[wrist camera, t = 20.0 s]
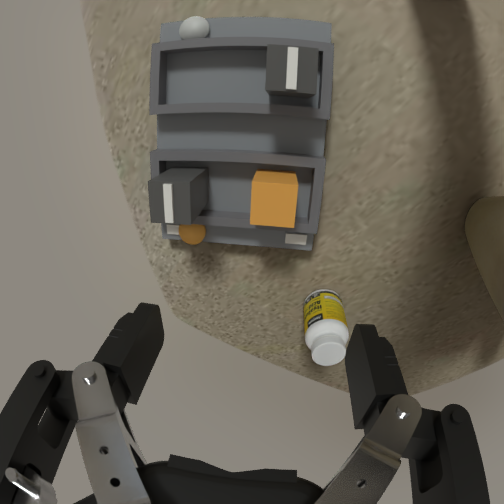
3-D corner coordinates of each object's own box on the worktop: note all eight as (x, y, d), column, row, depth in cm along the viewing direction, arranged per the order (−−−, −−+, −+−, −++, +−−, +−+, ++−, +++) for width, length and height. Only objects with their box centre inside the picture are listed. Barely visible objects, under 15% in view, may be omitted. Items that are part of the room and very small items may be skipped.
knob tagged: (208, 167, 30) (188, 182, 24) (208, 202, 32) (190, 226, 26) (173, 166, 31) (146, 182, 24) (174, 200, 33) (149, 223, 26)
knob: (310, 62, 24) (318, 47, 18) (308, 98, 26) (316, 93, 20) (270, 58, 25) (267, 43, 18) (268, 95, 26) (264, 89, 20)
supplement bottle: (315, 281, 38) (323, 331, 29) (348, 296, 39) (362, 346, 30) (295, 310, 41) (297, 362, 32) (327, 323, 41) (335, 374, 33)
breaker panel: (328, 26, 24) (334, 16, 20) (309, 244, 36) (312, 260, 32) (167, 26, 25) (154, 17, 21) (168, 233, 37) (156, 247, 33)
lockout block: (295, 171, 30) (298, 185, 25) (292, 207, 32) (293, 228, 27) (257, 168, 30) (251, 181, 25) (255, 204, 32) (249, 224, 27)
